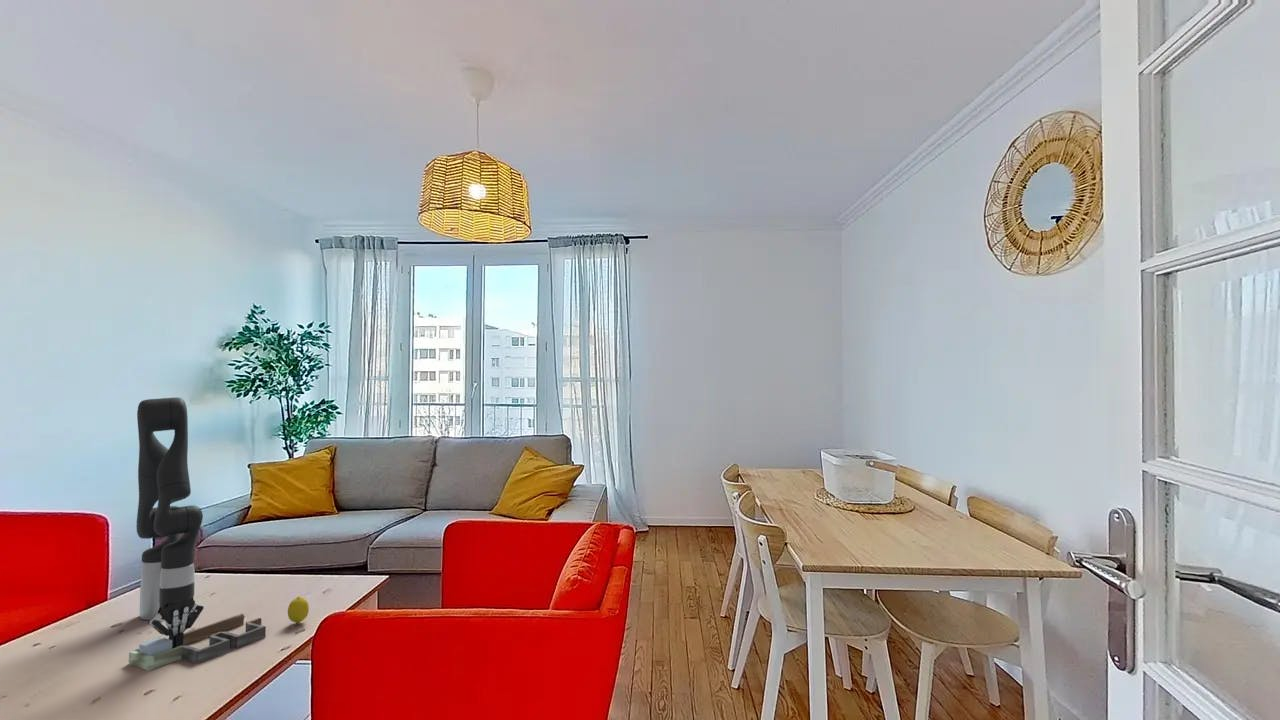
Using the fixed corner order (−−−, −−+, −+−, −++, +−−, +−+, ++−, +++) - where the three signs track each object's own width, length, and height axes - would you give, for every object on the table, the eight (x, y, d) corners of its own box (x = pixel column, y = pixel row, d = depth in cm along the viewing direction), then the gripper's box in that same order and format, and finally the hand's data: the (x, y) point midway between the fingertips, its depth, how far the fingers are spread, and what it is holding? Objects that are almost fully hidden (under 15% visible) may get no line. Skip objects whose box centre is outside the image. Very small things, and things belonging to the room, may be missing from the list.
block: (138, 664, 159) (139, 644, 159) (160, 656, 164) (160, 636, 164) (150, 667, 157) (150, 647, 157) (171, 659, 162) (172, 640, 162)
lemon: (299, 628, 182) (299, 600, 183) (283, 626, 183) (283, 599, 184) (312, 620, 188) (313, 594, 188) (297, 619, 189) (297, 592, 189)
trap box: (128, 663, 159) (129, 652, 159) (241, 623, 186) (241, 613, 186) (165, 676, 153) (166, 663, 153) (277, 632, 179) (277, 622, 179)
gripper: (194, 573, 173) (193, 636, 173) (140, 588, 161) (139, 655, 160) (211, 576, 170) (210, 640, 170) (157, 592, 158) (156, 660, 157)
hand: (175, 647), depth 165 cm, fingers closed
